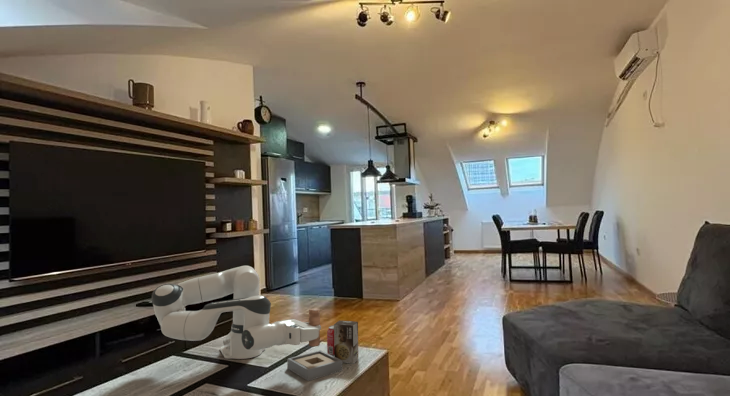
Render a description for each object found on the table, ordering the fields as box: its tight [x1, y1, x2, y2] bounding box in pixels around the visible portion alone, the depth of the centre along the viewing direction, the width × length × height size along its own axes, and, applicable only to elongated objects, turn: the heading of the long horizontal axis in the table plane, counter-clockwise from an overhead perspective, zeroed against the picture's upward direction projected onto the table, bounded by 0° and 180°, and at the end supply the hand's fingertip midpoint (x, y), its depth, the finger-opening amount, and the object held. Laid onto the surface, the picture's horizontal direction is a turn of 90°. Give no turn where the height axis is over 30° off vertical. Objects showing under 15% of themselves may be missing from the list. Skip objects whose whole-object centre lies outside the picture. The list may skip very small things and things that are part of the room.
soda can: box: [326, 324, 334, 356], centre depth 183 cm, size 7×7×12 cm
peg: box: [308, 308, 321, 348], centre depth 164 cm, size 4×4×14 cm
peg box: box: [286, 349, 343, 382], centre depth 164 cm, size 16×16×4 cm
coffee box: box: [333, 320, 359, 365], centre depth 175 cm, size 9×6×16 cm
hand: (316, 325), depth 165 cm, fingers closed on peg, 4 cm apart
